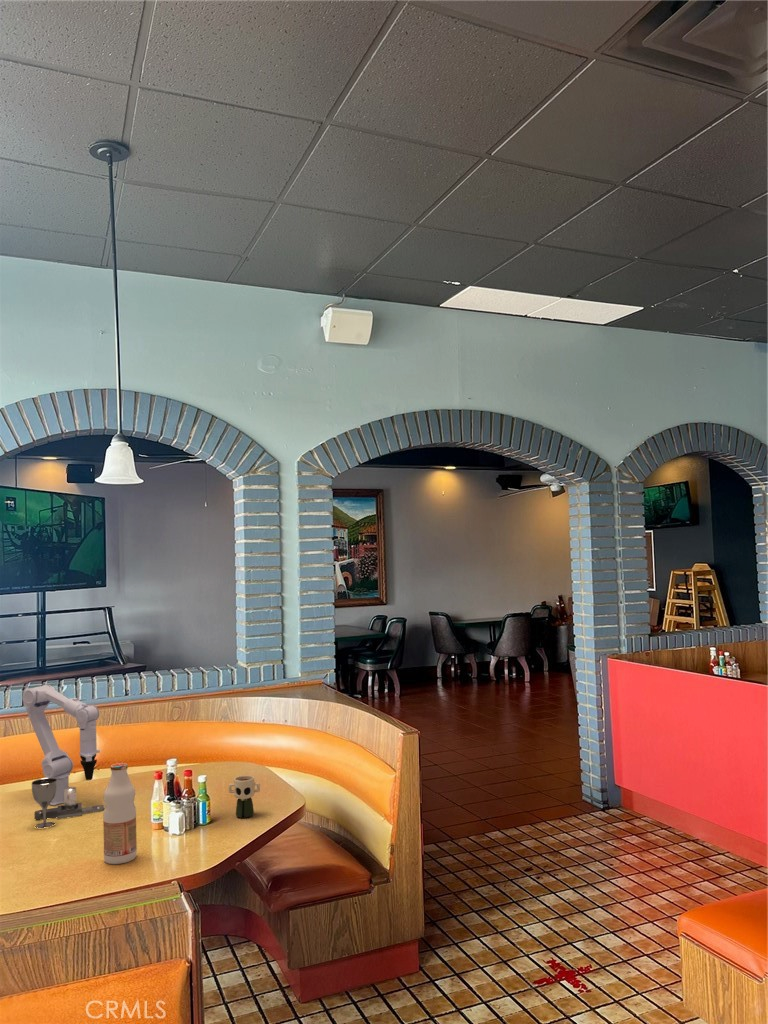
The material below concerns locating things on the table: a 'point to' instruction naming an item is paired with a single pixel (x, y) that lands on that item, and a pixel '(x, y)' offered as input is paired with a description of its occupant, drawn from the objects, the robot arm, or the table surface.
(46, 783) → the wine glass
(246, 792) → the character mug
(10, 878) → the table surface
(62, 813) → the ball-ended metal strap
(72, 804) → the steel pin
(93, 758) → the robot arm
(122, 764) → the fruit juice
